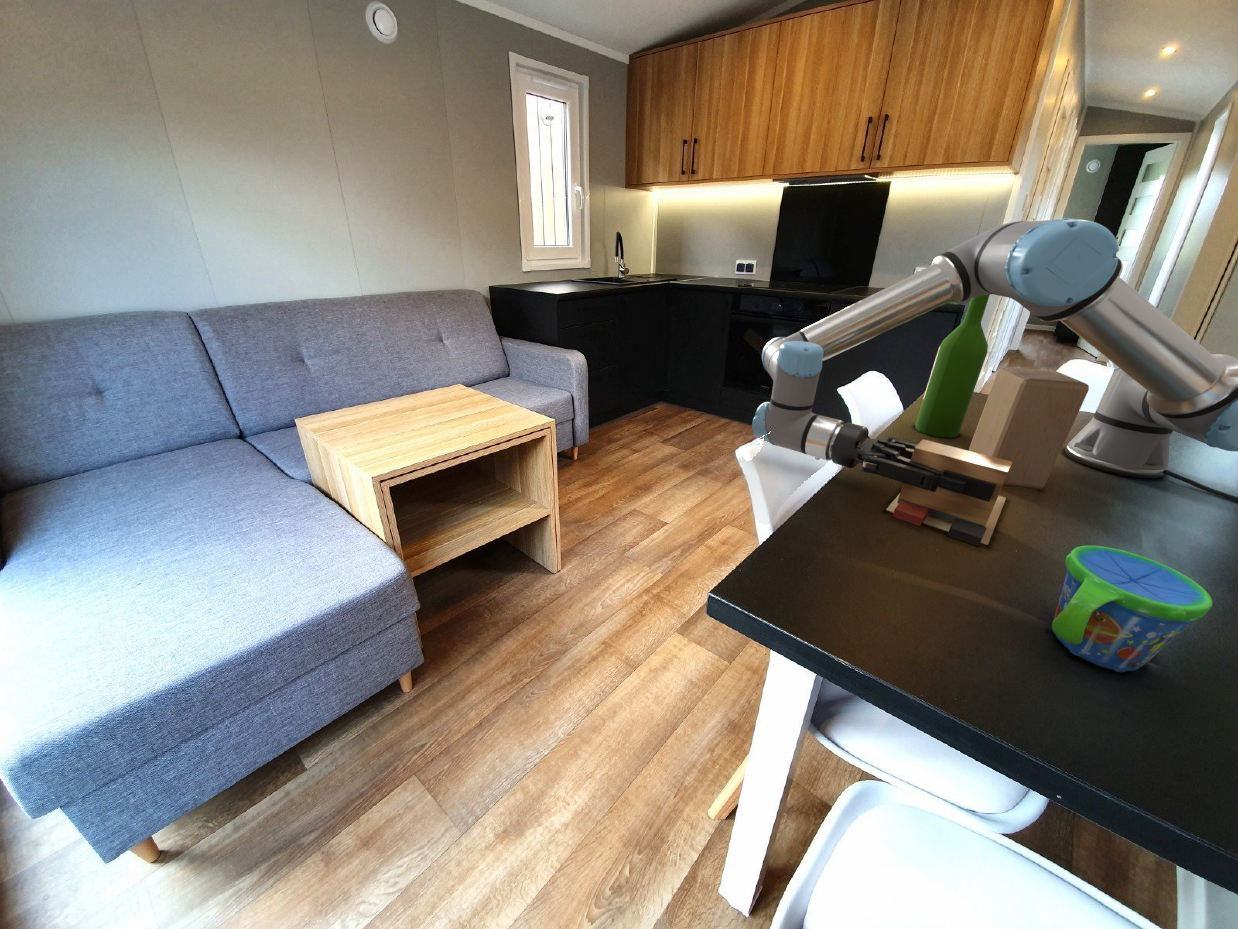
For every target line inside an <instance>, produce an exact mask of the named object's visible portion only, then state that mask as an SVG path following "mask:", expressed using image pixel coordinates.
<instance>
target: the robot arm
mask: <svg viewBox="0 0 1238 929" xmlns="http://www.w3.org/2000/svg"><path fill="white" fill-rule="evenodd" d="M1118 243H1119V242H1118V241H1117V239H1116V237H1115V235H1114V234H1113V232H1111V231H1110V230H1109V228H1107V227H1106V226H1104V225H1102V224H1100V223H1098V222H1095V221H1091V220H1086V219H1082V218H1075V217H1074V218H1073V217H1066V218H1056V219H1045V220H1030V221H1027V220H1026V221H1023V220H1021V221H1011V222H1007V223H1003V224H1000V225H998V226H995V227H992V228H990V229H988V230H986V231H983V232H982V233H980V234H978V235H976V236H973V237H972V238H970V239H967V240H966V241H964V242H962V243H960V244H958V245H956V246H954V247H952V248H951V249H949V250H947V251H945V252H943V253H940V254H939V255H937V256H935V257H934V258H933V260H932V262H931V264H930V265H929V266H927V267H925V268H924V269H921V270H919V271H917V272H915V273H913V274H911V275H909V276H907V277H905V278H902V279H901V280H899V281H897V282H895V283H893V284H891V285H889V286H887V287H885V288H883V289H881V290H879V291H877V292H875V293H873V294H871V295H869V296H867V297H865V298H863V299H861V300H859V301H857V302H854V303H853V304H851V305H849V306H847V307H845V308H844V309H841V310H840V311H837V312H835V313H833V314H831V315H829V316H827V317H825V318H823V319H820V320H819V321H817V322H815V323H813V324H811V325H809V326H806V327H804V328H803V329H801V330H799V331H797V332H795V333H793V334H790V335H788V336H778V337H773V338H771V339H770V340H769V341H768V342H766V344H765V345H764V347H763V349H762V352H761V361H762V365H763V366H762V367H763V368H764V370H765V371H766V372H767V373H768V375H769V376H770V378H771V379H772V381H773V383H772V390H771V397H770V401H765V402H763V403H761V404H760V405H759V406H758V407H757V409H756V411H755V413H754V414H755V415H754V417H753V419H752V424H751V430H752V434H753V435H754V437H755V438H756V439H758V438H760V437H762V436H763V435H765V436H764V437H762V438H760V439H763V438H764V441H763V442H766V441H767V442H766V443H768V442H769V443H768V444H770V445H772V446H776V447H780V448H783V449H788V450H791V451H795V452H797V453H801V454H804V455H808V456H811V457H813V458H814V459H815V460H816V461H820V460H823V461H827V462H829V461H832V463H833V464H836V465H838V466H842V467H846V468H847V469H848V468H849V469H853V468H856V467H857V466H858V465H859V463H860V464H861V468H860V471H861V472H863V473H867V474H873V475H877V476H881V477H884V478H887V479H891V480H893V481H897V482H900V483H906V484H909V485H912V486H915V487H919V488H922V489H925V490H929V489H930V491H931V492H936V490H937V487H938V486H939V487H941V488H944V489H947V490H951V491H954V492H957V493H961V494H964V495H967V496H971V497H974V498H977V499H981V500H984V501H987V502H989V501H990V499H991V496H992V494H993V491H994V489H995V487H996V484H995V483H991V482H988V481H984V480H981V479H977V478H973V477H970V476H966V475H963V474H959V473H956V472H952V471H948V470H945V471H944V473H943V475H942V472H941V471H939V470H936V469H934V468H931V467H928V466H926V465H923V464H920V463H916V462H913V461H911V457H912V454H913V451H914V448H915V447H916V446H917V445H918V444H919V443H918V444H917V443H914V442H909V441H905V440H902V439H899V438H897V437H894V436H887V437H886V439H885V438H884V439H883V438H871V437H870V436H869V434H870V432H869V428H868V427H867V426H863V425H860V424H857V423H853V422H844V421H843V420H841V419H838V418H834V417H829V416H826V415H821V414H817V413H814V412H812V409H813V406H814V401H815V397H816V392H817V388H818V385H819V384H818V383H819V379H820V374H821V371H822V369H823V362H825V361H827V360H829V359H831V358H832V357H835V356H837V355H839V354H841V353H843V352H845V351H848V350H850V349H851V348H852V349H853V348H854V347H856V346H858V345H860V344H862V343H865V342H866V341H869V340H871V339H874V338H875V337H878V336H879V335H881V334H884V333H886V332H888V331H890V330H893V329H894V328H897V327H899V326H901V325H903V324H905V323H908V322H910V321H912V320H914V319H916V318H918V317H920V316H922V315H925V314H926V313H928V312H930V311H933V310H935V309H938V308H939V307H942V306H944V305H946V304H950V305H953V306H954V305H955V306H957V305H959V304H961V303H963V302H965V301H968V300H969V299H970V300H971V298H973V297H977V296H982V295H990V296H991V295H994V296H998V297H1003V298H1009V299H1011V300H1013V301H1015V302H1016V303H1018V304H1019V305H1020V306H1022V307H1023V308H1025V309H1026V310H1027V311H1028V312H1029V313H1031V314H1032V315H1034V316H1035V317H1036V318H1037V319H1038V320H1040V321H1041V322H1046V323H1055V322H1061V323H1062V324H1063V325H1065V326H1066V327H1067V328H1068V329H1069V330H1071V331H1072V332H1073V333H1075V334H1076V335H1077V336H1079V337H1080V338H1081V339H1082V340H1084V341H1085V342H1086V343H1087V344H1088V345H1090V346H1091V347H1092V348H1093V349H1095V350H1096V351H1097V352H1098V353H1099V354H1101V355H1102V356H1103V357H1105V358H1106V359H1107V360H1108V361H1109V362H1111V363H1112V364H1113V365H1115V367H1114V369H1113V372H1112V375H1111V377H1110V378H1109V381H1108V383H1107V385H1106V388H1105V390H1104V391H1103V394H1102V397H1101V399H1100V401H1099V403H1098V405H1097V407H1096V410H1095V412H1094V414H1093V416H1092V418H1091V420H1090V421H1089V422H1088V423H1086V425H1085V426H1084V427H1083V428H1082V429H1081V430H1080V431H1078V433H1077V434H1076V435H1075V436H1074V437H1072V439H1070V441H1068V443H1067V444H1066V447H1065V449H1064V453H1065V454H1066V456H1067V457H1069V458H1070V459H1071V460H1074V461H1076V462H1077V463H1079V464H1082V465H1084V466H1087V467H1090V468H1093V469H1096V470H1099V471H1102V472H1106V473H1111V474H1115V475H1118V476H1119V475H1120V476H1123V477H1129V478H1130V477H1131V478H1138V479H1158V478H1162V477H1163V476H1164V475H1167V476H1169V477H1172V478H1174V479H1177V480H1179V481H1181V482H1184V483H1186V484H1188V485H1191V486H1193V487H1195V488H1198V489H1200V490H1202V491H1204V492H1207V493H1210V494H1213V495H1215V496H1219V497H1222V498H1225V499H1228V500H1231V501H1234V502H1238V496H1236V495H1233V494H1229V493H1226V492H1223V491H1220V490H1218V489H1214V488H1212V487H1209V486H1207V485H1204V484H1202V483H1199V482H1197V481H1195V480H1193V479H1190V478H1188V477H1185V476H1183V475H1180V474H1178V473H1175V472H1174V471H1171V470H1168V468H1169V455H1170V442H1171V441H1170V440H1171V436H1172V435H1173V432H1176V433H1178V434H1181V435H1182V436H1186V437H1188V438H1190V439H1193V440H1196V441H1198V442H1200V443H1203V444H1205V445H1207V446H1208V447H1210V448H1215V449H1220V450H1224V451H1226V452H1238V358H1237V357H1235V356H1233V355H1230V354H1223V353H1215V354H1214V353H1213V354H1212V353H1211V352H1209V350H1207V349H1206V348H1204V346H1202V345H1201V344H1200V343H1199V342H1198V341H1197V340H1195V339H1194V338H1193V337H1192V336H1190V335H1189V334H1188V333H1187V332H1186V331H1184V330H1183V329H1182V328H1181V327H1180V326H1178V325H1177V324H1176V323H1175V322H1174V321H1173V320H1172V319H1170V318H1169V317H1167V315H1166V314H1165V313H1164V312H1162V311H1161V310H1160V309H1158V308H1157V307H1156V306H1155V305H1153V304H1152V302H1150V301H1149V300H1148V299H1146V298H1145V297H1144V296H1143V295H1141V294H1140V293H1139V292H1138V290H1136V289H1134V288H1133V287H1132V286H1131V285H1130V284H1128V283H1127V282H1126V281H1125V280H1124V279H1123V278H1121V276H1122V275H1121V274H1122V273H1123V269H1124V265H1123V264H1124V263H1123V262H1122V260H1121V258H1119V257H1118V256H1117V253H1118V252H1119V251H1120V249H1119V244H1118ZM770 431H771V432H770ZM769 432H770V434H768V433H769ZM766 434H767V435H766ZM760 439H759V440H760ZM930 487H931V488H930Z"/></svg>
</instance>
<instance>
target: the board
mask: <svg viewBox="0 0 1238 929" xmlns="http://www.w3.org/2000/svg"><path fill="white" fill-rule="evenodd" d="M899 495H900V493H899V494H897V496H896V497H895V498H894V499H893V501H892V502H891V503H890V504H889V505H888V507H887V508H886V511H887V512H890V513H892V514H893V513H894V510H895V508H896V507H897V506H898V503H897V502H898V498H899ZM1006 500H1007V497H1005V496H1001V495H999V496H998V498H997V500H996V503H995V505H994V508H993V510H992V512H991V515H990V517H989V520H988V522H987V524H986V531H985V533H984V535H983V538H982V540H981V542H980V544H984V545H989V543H990V541H991V538H992V536H993V533H994V530H995V528H996V525H997V523H998V520H999V518H1000V516H1001V513H1002V509H1003V507H1004V505H1005V503H1006ZM922 524H925V525H929V526H931V527H934V528H937V529H940V530H942V531H946V532H947V533H948V532H949V530H950V527H951V525H952V524H953V521H950V520H947V519H944V518H941V517H937V516H934V515H931V514H927V517H926V518H925V520H924V521H923V523H922Z"/></svg>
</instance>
